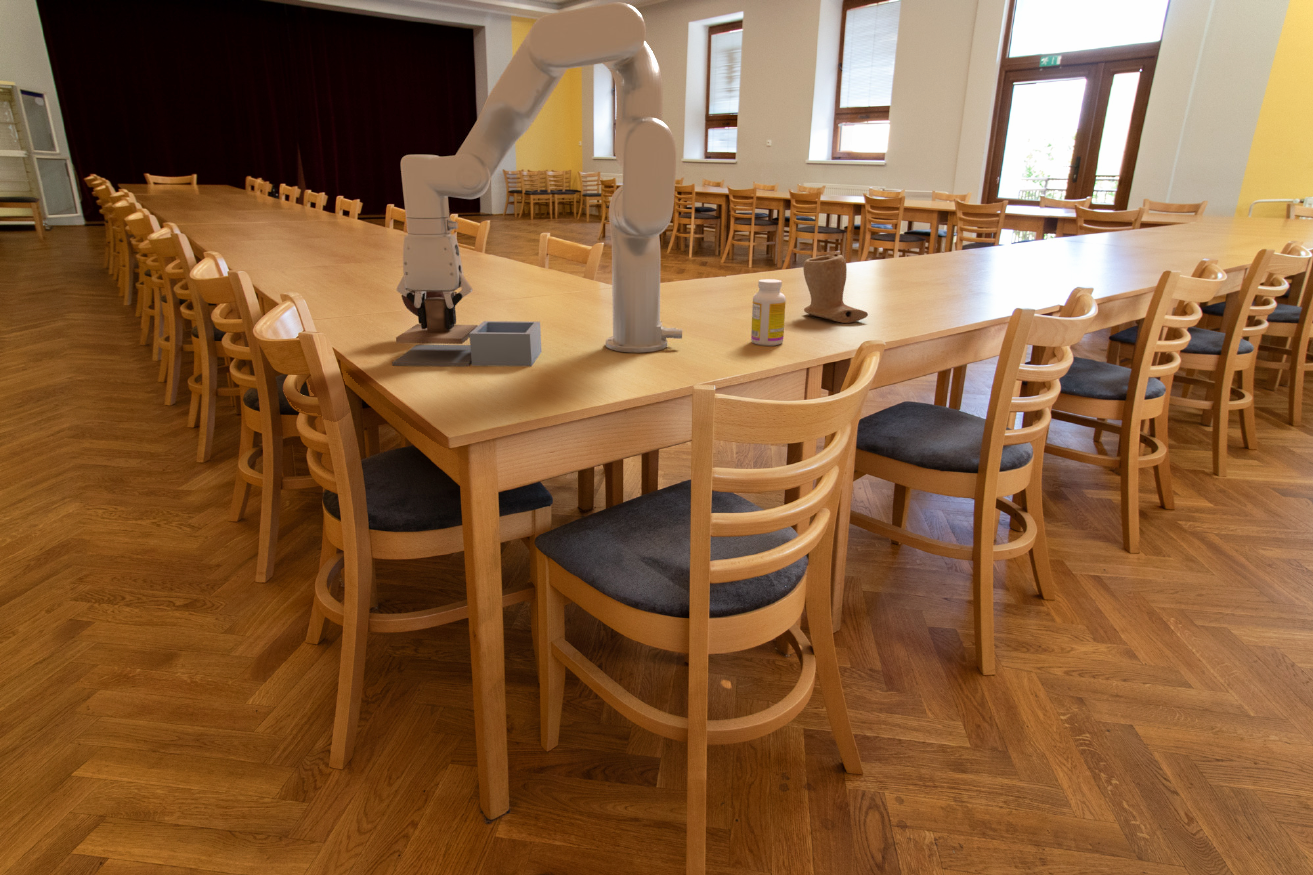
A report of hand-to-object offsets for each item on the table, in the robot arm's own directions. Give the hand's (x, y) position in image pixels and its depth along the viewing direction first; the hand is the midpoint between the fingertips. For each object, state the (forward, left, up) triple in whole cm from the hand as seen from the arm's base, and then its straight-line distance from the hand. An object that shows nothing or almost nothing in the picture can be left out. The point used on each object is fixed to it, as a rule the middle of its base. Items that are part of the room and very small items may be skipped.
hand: (438, 326), depth 140 cm
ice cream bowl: (+6, -15, -6) cm, 17 cm away
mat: (0, 0, -6) cm, 6 cm away
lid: (0, 0, -2) cm, 2 cm away
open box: (-13, +1, -6) cm, 14 cm away
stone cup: (-82, -40, -6) cm, 91 cm away
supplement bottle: (-64, -14, -6) cm, 66 cm away
